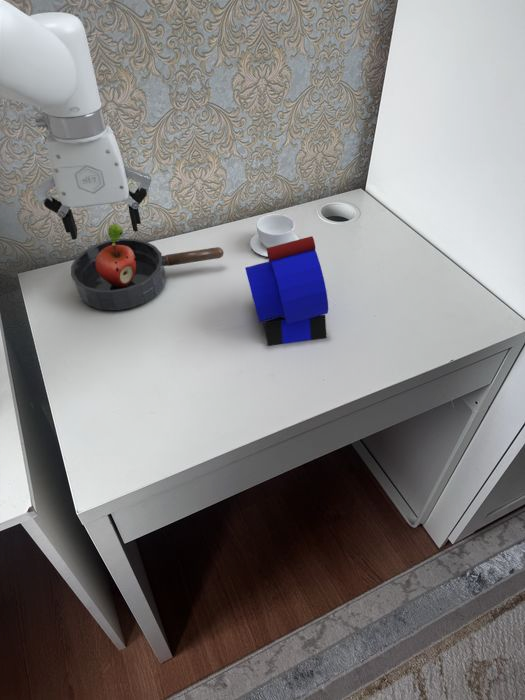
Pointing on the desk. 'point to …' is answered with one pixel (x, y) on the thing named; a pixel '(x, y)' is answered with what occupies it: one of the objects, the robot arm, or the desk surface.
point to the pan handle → (192, 256)
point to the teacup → (272, 232)
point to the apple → (116, 261)
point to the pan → (111, 297)
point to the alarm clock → (290, 292)
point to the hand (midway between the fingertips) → (105, 231)
